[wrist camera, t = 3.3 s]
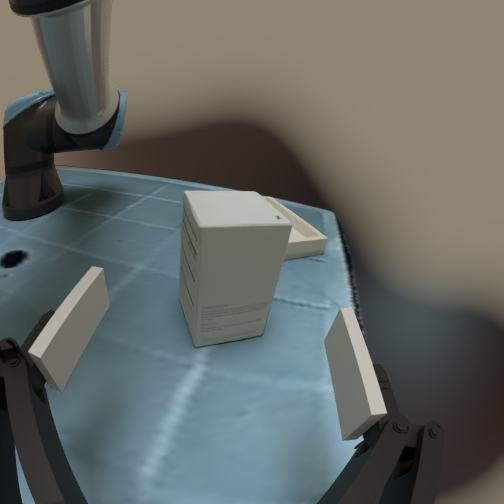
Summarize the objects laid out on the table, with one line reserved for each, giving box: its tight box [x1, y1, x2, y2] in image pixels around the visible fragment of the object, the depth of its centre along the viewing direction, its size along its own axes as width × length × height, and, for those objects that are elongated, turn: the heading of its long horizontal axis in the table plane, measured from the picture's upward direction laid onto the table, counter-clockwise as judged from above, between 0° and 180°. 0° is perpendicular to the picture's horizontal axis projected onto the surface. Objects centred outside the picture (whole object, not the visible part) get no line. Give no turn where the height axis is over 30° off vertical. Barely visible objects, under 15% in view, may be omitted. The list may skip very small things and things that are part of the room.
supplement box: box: [179, 191, 292, 347], centre depth 25 cm, size 7×7×13 cm
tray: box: [263, 197, 328, 260], centre depth 46 cm, size 18×18×3 cm
